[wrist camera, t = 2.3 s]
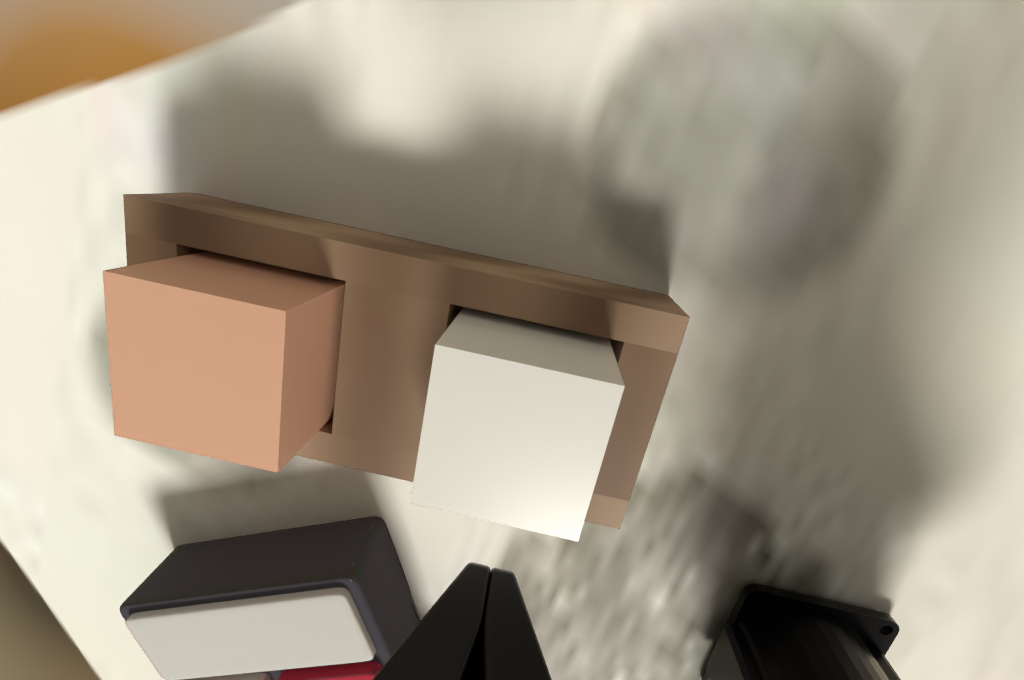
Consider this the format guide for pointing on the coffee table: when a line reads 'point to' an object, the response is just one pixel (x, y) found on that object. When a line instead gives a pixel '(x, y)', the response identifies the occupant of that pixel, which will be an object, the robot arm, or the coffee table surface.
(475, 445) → the cream key
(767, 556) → the coffee table surface
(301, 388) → the tan wooden block
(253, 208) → the key panel
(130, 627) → the calculator
